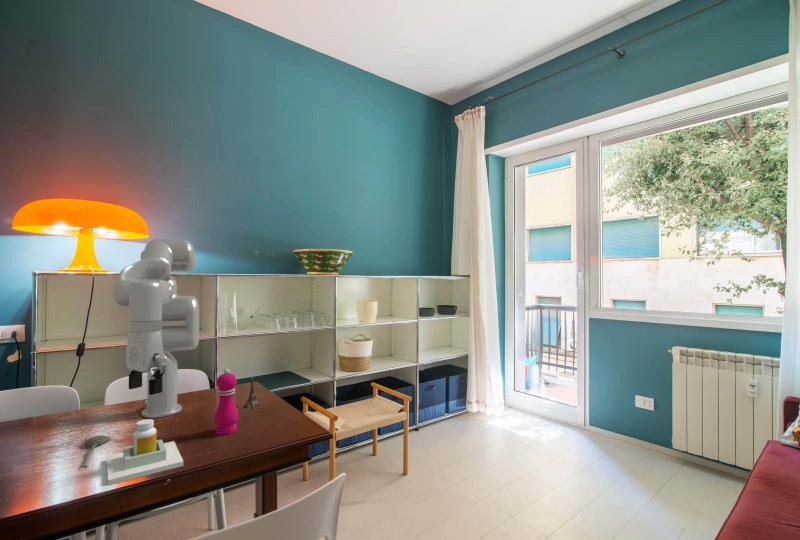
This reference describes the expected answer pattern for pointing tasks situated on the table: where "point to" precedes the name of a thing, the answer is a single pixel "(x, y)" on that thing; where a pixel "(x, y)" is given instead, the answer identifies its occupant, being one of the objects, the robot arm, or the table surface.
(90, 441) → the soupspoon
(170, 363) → the robot arm
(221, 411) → the pepper mill
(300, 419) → the table surface
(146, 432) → the supplement bottle
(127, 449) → the cup holder
